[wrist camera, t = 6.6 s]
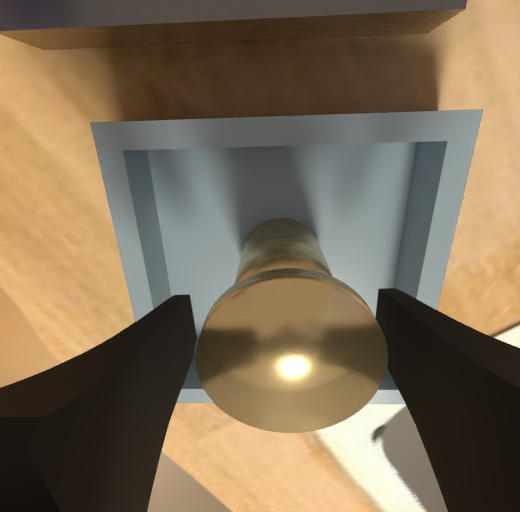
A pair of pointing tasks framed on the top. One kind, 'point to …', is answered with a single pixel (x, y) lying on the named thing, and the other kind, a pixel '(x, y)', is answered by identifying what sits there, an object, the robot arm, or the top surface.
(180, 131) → the tray
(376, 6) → the block
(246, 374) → the lock pin
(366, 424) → the top surface
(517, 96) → the top surface
